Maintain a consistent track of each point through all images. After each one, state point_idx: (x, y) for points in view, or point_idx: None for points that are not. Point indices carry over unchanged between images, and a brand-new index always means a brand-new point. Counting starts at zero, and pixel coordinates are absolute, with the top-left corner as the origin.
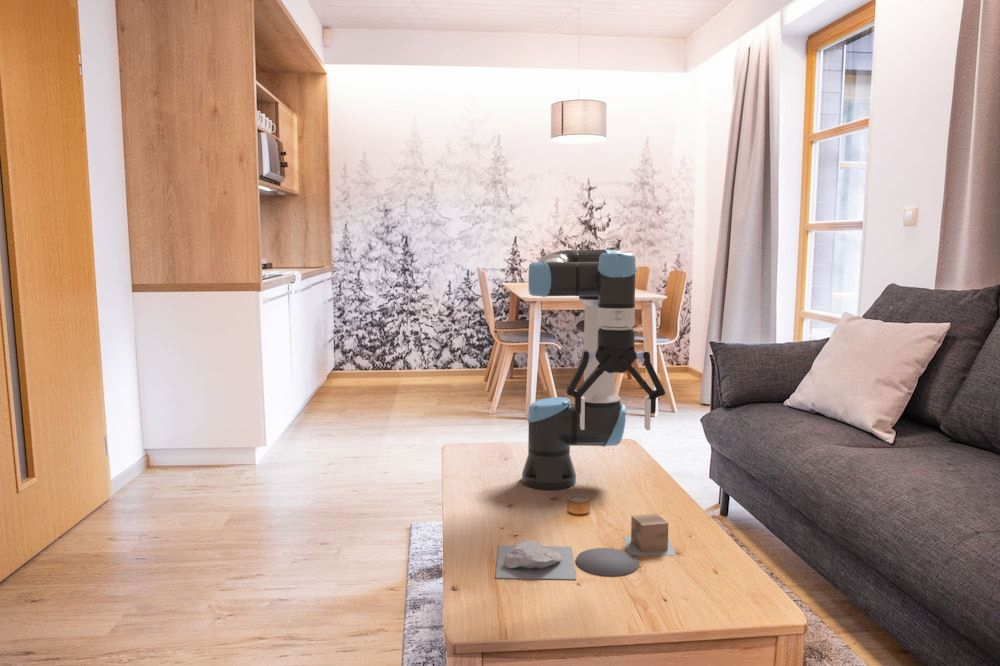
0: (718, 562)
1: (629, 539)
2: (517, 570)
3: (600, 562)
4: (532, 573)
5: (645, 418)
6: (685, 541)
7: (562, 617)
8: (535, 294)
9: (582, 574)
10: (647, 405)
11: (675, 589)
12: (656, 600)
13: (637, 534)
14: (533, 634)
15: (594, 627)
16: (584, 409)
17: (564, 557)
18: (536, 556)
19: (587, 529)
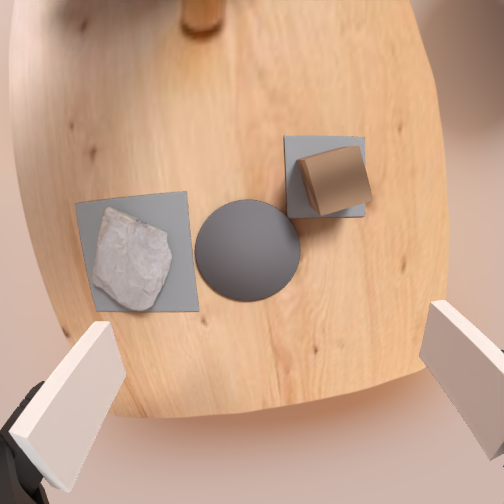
0: (416, 234)
1: (294, 149)
2: None
3: (235, 261)
4: None
5: (449, 351)
6: (389, 152)
7: (191, 391)
8: None
9: (208, 292)
10: (476, 433)
11: (336, 324)
12: (304, 353)
13: (309, 189)
14: (169, 414)
15: (227, 405)
16: (90, 446)
17: (176, 239)
18: (133, 301)
19: (216, 102)
